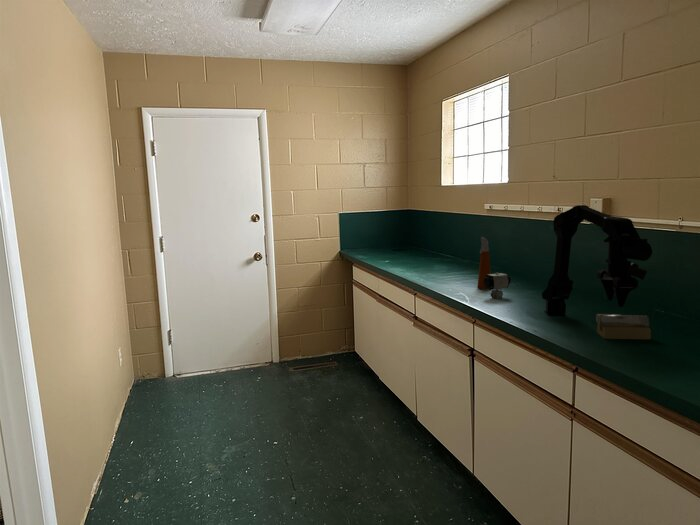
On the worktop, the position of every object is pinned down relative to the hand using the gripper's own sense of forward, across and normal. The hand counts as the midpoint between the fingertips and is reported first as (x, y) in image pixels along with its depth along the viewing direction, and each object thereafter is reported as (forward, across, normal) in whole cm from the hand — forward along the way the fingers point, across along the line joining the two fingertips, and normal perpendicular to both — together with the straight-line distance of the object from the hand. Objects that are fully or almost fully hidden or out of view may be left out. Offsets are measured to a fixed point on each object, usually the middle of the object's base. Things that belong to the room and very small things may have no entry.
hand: (615, 303), depth 159 cm
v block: (+11, 0, -3) cm, 11 cm away
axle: (+6, 0, -3) cm, 7 cm away
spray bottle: (+11, +75, +34) cm, 83 cm away
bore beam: (+11, +12, -4) cm, 17 cm away
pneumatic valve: (+11, +55, +30) cm, 64 cm away
